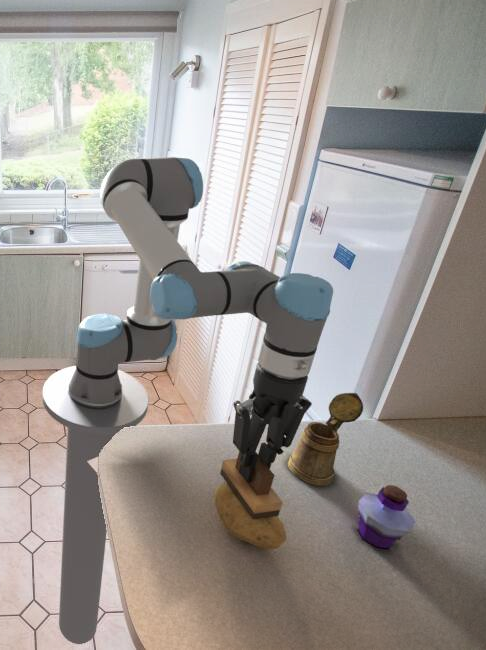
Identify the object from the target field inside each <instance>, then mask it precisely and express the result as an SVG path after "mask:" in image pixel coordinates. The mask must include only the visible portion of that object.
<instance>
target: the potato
mask: <svg viewBox="0 0 486 650" xmlns="http://www.w3.org/2000/svg"><path fill="white" fill-rule="evenodd" d="M214 505H215V508H216V511H217V514H218V516H219V517H218V518H219V519H220V521H221V523H222V524H223V525H224V527H225V528H226V530H227V531H228V532H229V533H230V534H231V535H232V536H234V537H235V538H237V539H238V540H241V541H243V542H246V543H249V544H250V545H252V546H254V547H257V548H260V549H264V550H278V549H279V548H280V547H281V546H282V545H283V544H284V543H285V542H286V541H288V539H287V533H286V528H285V524H284V523H283V521H282V520H281V519H280V517H279V515H278V516H274V517H267V518H260V519H252V518H251V516H250V515H249V513H248V512H247V511H246V509H245V508H244V506H243V505H242V504H241V502H240V501H239V499H238V498H237V497H236V495H235V494H234V492H233V491H232V490H231V488H230V487H229V485H228V484H227V483H226V482H223V483H221V484H220V485H219V486H218V487H217V488H216V489H215V492H214Z"/></svg>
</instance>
